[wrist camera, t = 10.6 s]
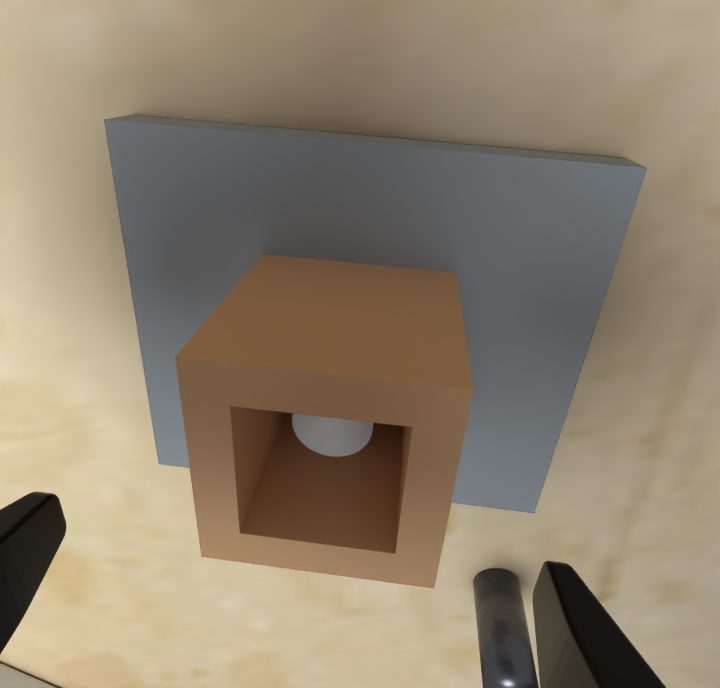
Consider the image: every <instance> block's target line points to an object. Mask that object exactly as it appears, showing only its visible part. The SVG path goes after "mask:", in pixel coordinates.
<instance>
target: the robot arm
mask: <svg viewBox="0 0 720 688" xmlns="http://www.w3.org/2000/svg"><path fill="white" fill-rule="evenodd" d="M65 533H66V521H65V518H64V514H63V511H62V507H61V504H60V501H59V498H58V497H57V496H56V495H55V494H51V493H44V492H32V493H30V494H28V495H26V496H24V497H22V498H20V499H19V500H17V501H15V502H13V503H11V504H10V505H8V506H6V507H4V508H3V509H1V510H0V654H1V652H2V651H3V649H4V648H5V646H6V644H7V643H8V641H9V640H10V638H11V636H12V635H13V633H14V632H15V630H16V628H17V627H18V625H19V623H20V622H21V620H22V618H23V617H24V615H25V613H26V611H27V609H28V607H29V606H30V604H31V602H32V600H33V598H34V596H35V594H36V592H37V590H38V588H39V586H40V584H41V582H42V580H43V578H44V576H45V574H46V572H47V570H48V568H49V566H50V564H51V562H52V560H53V558H54V556H55V554H56V552H57V550H58V548H59V546H60V544H61V542H62V540H63V538H64V536H65ZM533 611H534V622H535V633H536V644H537V655H538V666H539V677H540V687H541V688H666V687H665V685H664V684H663V683H662V682H661V680H660V679H659V678H658V677H657V675H656V674H655V673H654V671H653V670H652V669H651V668H650V666H649V665H648V664H647V662H646V661H645V660H644V659H643V657H642V656H641V655H640V653H639V652H638V651H637V650H636V648H635V647H634V646H633V645H632V643H631V642H630V641H629V639H628V638H627V637H626V636H625V634H624V633H623V632H622V630H621V629H620V628H619V627H618V625H617V624H616V623H615V621H614V620H613V619H612V618H611V616H610V615H609V614H608V613H607V611H606V610H605V609H604V607H603V606H602V605H601V604H600V602H599V601H598V600H597V598H596V597H595V596H594V595H593V593H592V592H591V591H590V589H589V588H588V587H587V586H586V584H585V583H584V582H583V580H582V579H581V578H580V577H579V575H578V574H577V573H576V572H575V570H574V569H573V568H572V567H571V566H570V565H568V564H566V563H561V562H553V561H546V562H545V563H544V564H543V566H542V569H541V571H540V574H539V577H538V580H537V582H536V585H535V588H534V591H533Z"/></svg>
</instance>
